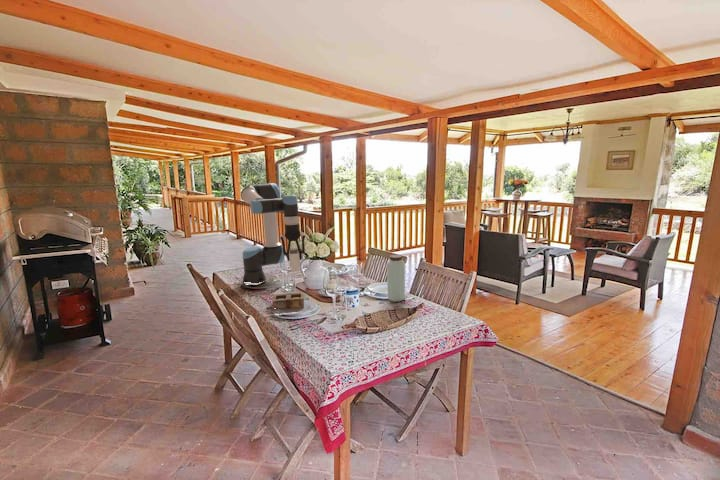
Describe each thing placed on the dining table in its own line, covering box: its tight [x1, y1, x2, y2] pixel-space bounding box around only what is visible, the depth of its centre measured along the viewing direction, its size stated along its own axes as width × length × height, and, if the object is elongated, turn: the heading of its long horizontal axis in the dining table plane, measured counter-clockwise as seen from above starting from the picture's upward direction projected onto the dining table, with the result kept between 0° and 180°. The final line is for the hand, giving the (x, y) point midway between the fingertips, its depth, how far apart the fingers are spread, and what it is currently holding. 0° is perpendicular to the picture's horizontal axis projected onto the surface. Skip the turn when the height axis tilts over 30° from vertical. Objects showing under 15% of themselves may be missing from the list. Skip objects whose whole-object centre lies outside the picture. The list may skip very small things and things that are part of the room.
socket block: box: [272, 291, 305, 310], centre depth 193 cm, size 10×16×6 cm, turn 99°
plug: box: [289, 247, 300, 273], centre depth 194 cm, size 4×4×12 cm
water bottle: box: [386, 254, 406, 302], centre depth 198 cm, size 10×10×25 cm
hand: (295, 265), depth 195 cm, fingers closed on plug, 4 cm apart
